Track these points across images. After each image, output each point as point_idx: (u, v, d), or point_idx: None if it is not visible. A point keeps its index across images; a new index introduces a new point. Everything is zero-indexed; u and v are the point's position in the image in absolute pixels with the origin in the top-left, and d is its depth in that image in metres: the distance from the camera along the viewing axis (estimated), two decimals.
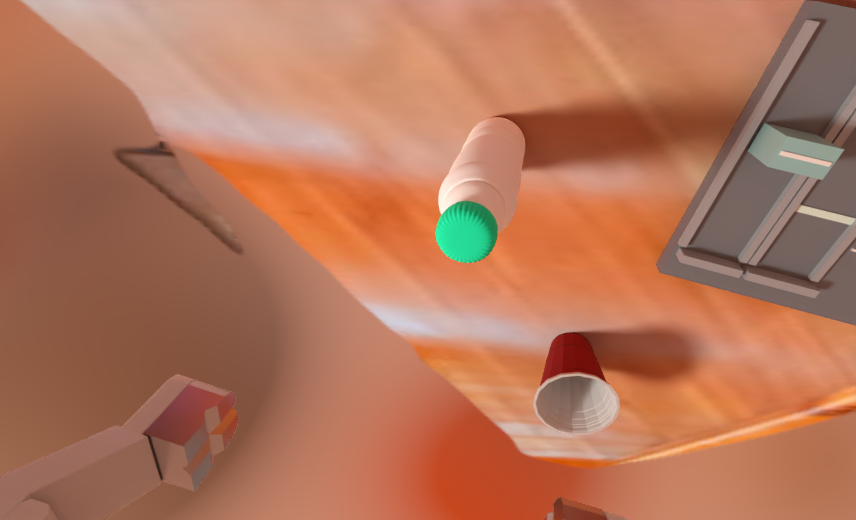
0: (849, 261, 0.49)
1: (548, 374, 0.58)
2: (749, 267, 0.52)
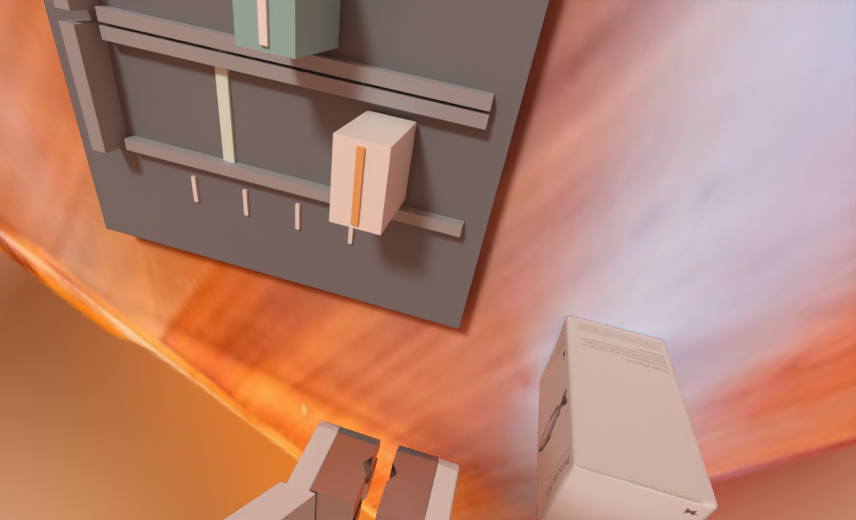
0: (178, 180, 0.32)
1: None
2: (97, 32, 0.27)
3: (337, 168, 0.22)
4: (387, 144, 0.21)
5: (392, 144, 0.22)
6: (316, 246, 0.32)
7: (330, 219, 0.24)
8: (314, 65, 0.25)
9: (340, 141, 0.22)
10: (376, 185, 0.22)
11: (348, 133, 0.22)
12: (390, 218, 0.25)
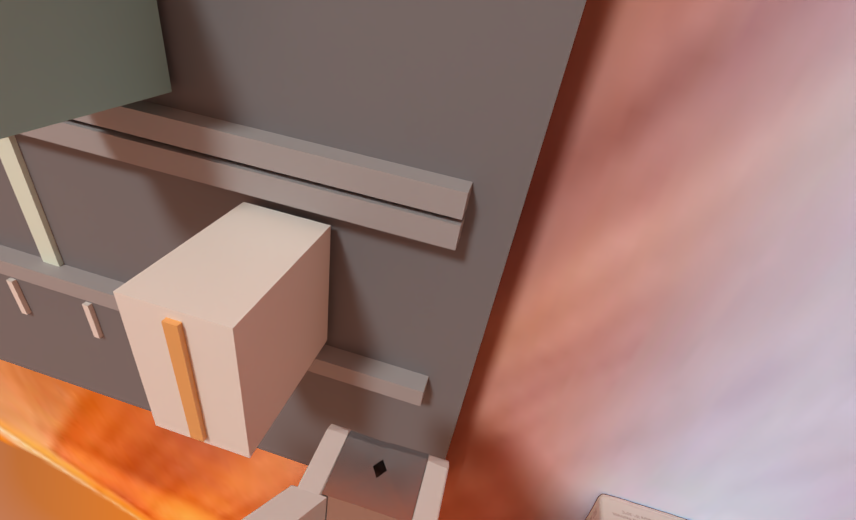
0: None
1: None
2: None
3: (142, 350, 0.11)
4: (229, 317, 0.10)
5: (241, 315, 0.10)
6: None
7: (158, 420, 0.13)
8: (131, 125, 0.13)
9: (131, 307, 0.10)
10: (221, 386, 0.11)
11: (151, 287, 0.10)
12: (282, 404, 0.14)
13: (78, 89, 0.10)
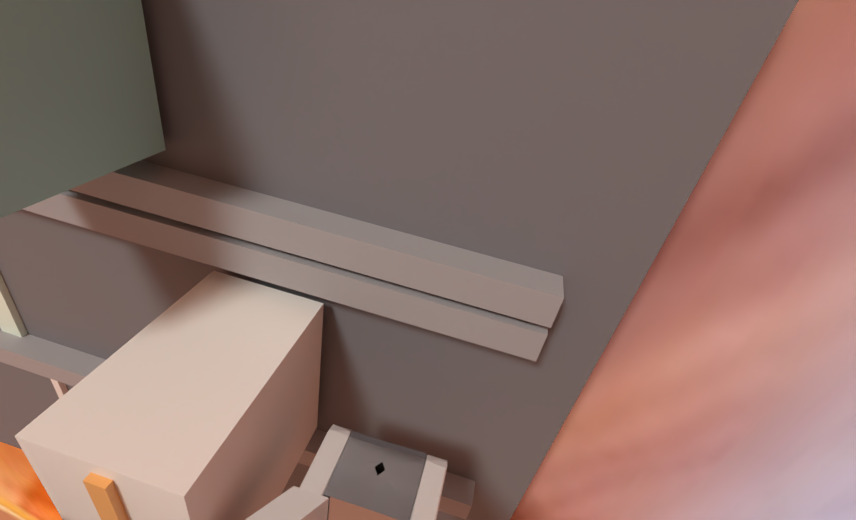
0: None
1: None
2: None
3: (63, 500, 0.08)
4: (181, 474, 0.07)
5: (198, 468, 0.07)
6: None
7: None
8: (111, 190, 0.10)
9: (42, 456, 0.07)
10: None
11: (72, 425, 0.07)
12: None
13: (31, 166, 0.07)
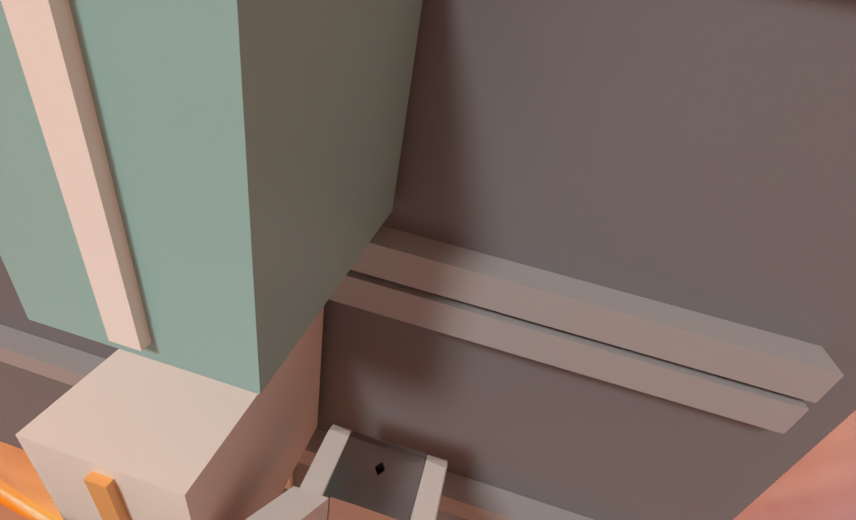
0: (59, 386, 0.17)
1: None
2: None
3: (64, 499, 0.08)
4: (182, 472, 0.07)
5: (198, 467, 0.07)
6: None
7: None
8: None
9: (42, 455, 0.07)
10: None
11: (74, 424, 0.07)
12: None
13: (341, 253, 0.06)
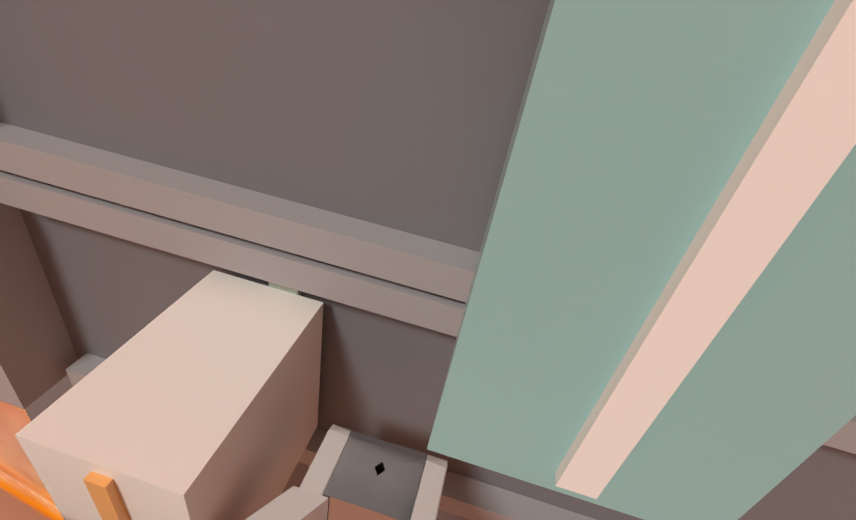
0: None
1: None
2: None
3: (64, 499, 0.08)
4: (181, 473, 0.07)
5: (198, 466, 0.07)
6: None
7: None
8: None
9: (42, 455, 0.07)
10: None
11: (72, 424, 0.07)
12: None
13: None
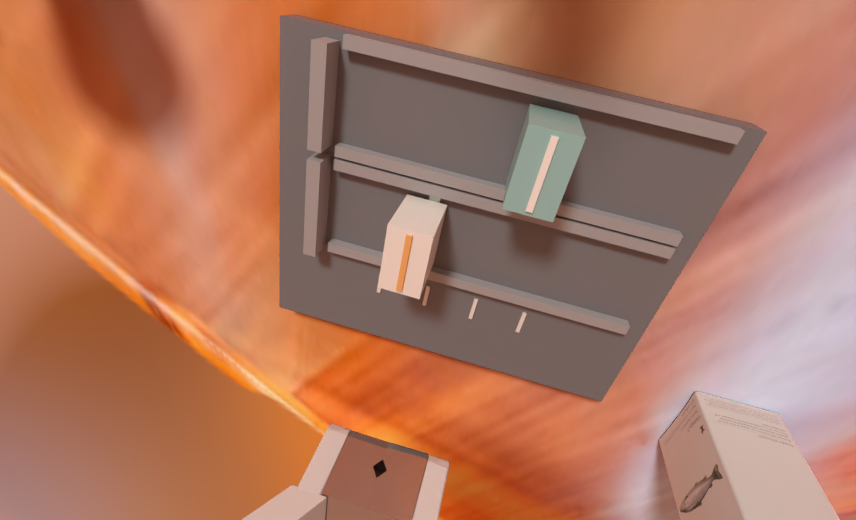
0: (364, 274, 0.37)
1: None
2: (328, 162, 0.31)
3: (388, 249, 0.28)
4: (430, 233, 0.27)
5: (433, 233, 0.28)
6: (483, 331, 0.37)
7: (378, 285, 0.30)
8: None
9: (392, 231, 0.28)
10: (419, 263, 0.28)
11: (398, 224, 0.28)
12: (425, 283, 0.31)
13: None
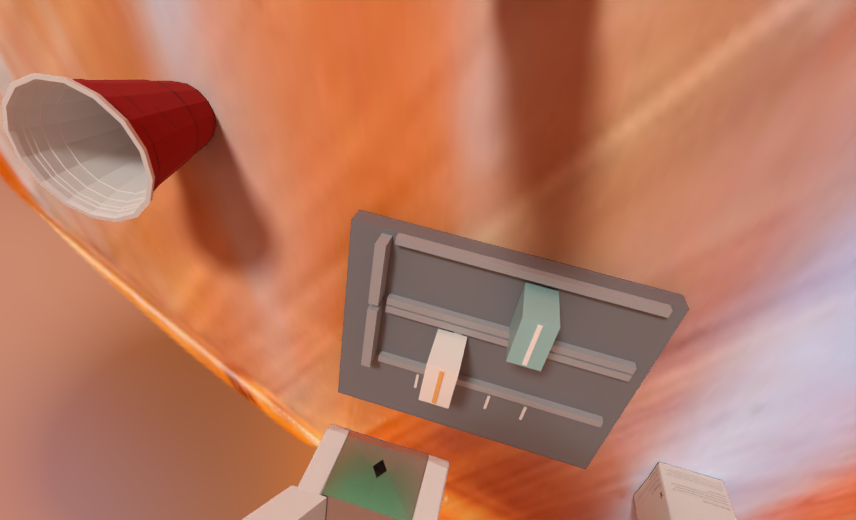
0: (404, 375, 0.49)
1: (113, 93, 0.30)
2: (381, 306, 0.44)
3: (426, 378, 0.40)
4: (456, 370, 0.39)
5: (458, 369, 0.40)
6: (494, 417, 0.49)
7: None
8: None
9: (430, 367, 0.40)
10: (448, 387, 0.40)
11: (434, 362, 0.40)
12: None
13: None
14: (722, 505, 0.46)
